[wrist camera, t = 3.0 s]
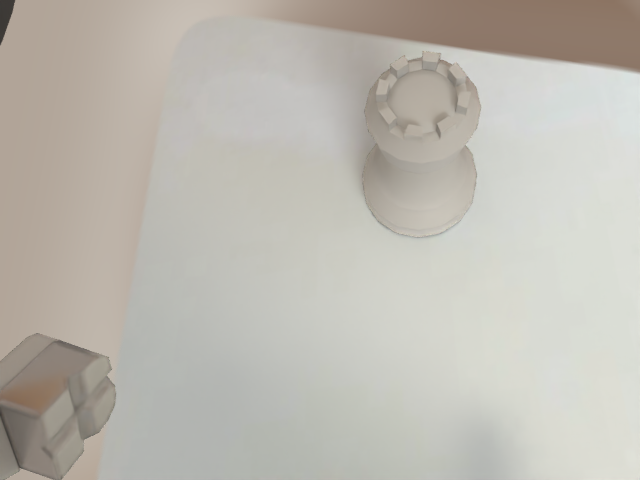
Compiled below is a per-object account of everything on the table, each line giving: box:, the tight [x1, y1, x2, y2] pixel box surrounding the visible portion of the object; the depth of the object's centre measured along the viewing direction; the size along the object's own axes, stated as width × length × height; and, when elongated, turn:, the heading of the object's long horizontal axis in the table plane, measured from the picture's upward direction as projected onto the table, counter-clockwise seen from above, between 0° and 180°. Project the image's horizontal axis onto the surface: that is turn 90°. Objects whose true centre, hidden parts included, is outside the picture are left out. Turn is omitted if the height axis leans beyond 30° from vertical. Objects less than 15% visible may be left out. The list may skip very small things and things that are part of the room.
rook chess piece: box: [363, 51, 481, 237], centre depth 19 cm, size 4×4×8 cm
